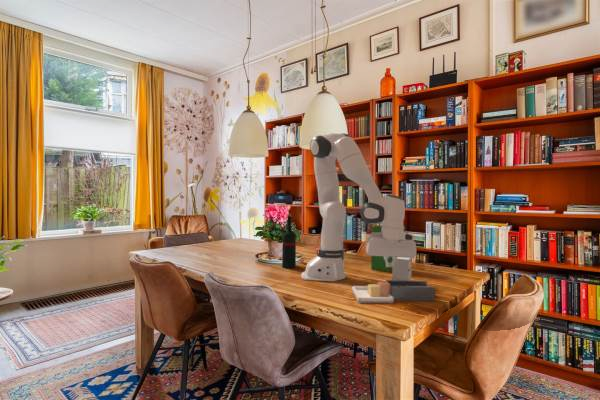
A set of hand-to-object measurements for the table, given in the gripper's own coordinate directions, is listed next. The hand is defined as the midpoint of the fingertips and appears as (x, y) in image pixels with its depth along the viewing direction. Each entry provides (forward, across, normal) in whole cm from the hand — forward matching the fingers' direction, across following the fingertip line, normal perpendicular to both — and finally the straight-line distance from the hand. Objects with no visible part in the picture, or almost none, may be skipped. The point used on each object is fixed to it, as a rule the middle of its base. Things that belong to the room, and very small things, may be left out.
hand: (389, 267), depth 140 cm
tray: (+12, -7, -1) cm, 14 cm away
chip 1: (+10, -4, -1) cm, 11 cm away
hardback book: (+12, +13, +47) cm, 50 cm away
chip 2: (+10, -2, -1) cm, 11 cm away
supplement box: (+12, +12, +18) cm, 25 cm away
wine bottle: (+15, -42, +53) cm, 69 cm away
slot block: (+12, +9, -1) cm, 15 cm away
